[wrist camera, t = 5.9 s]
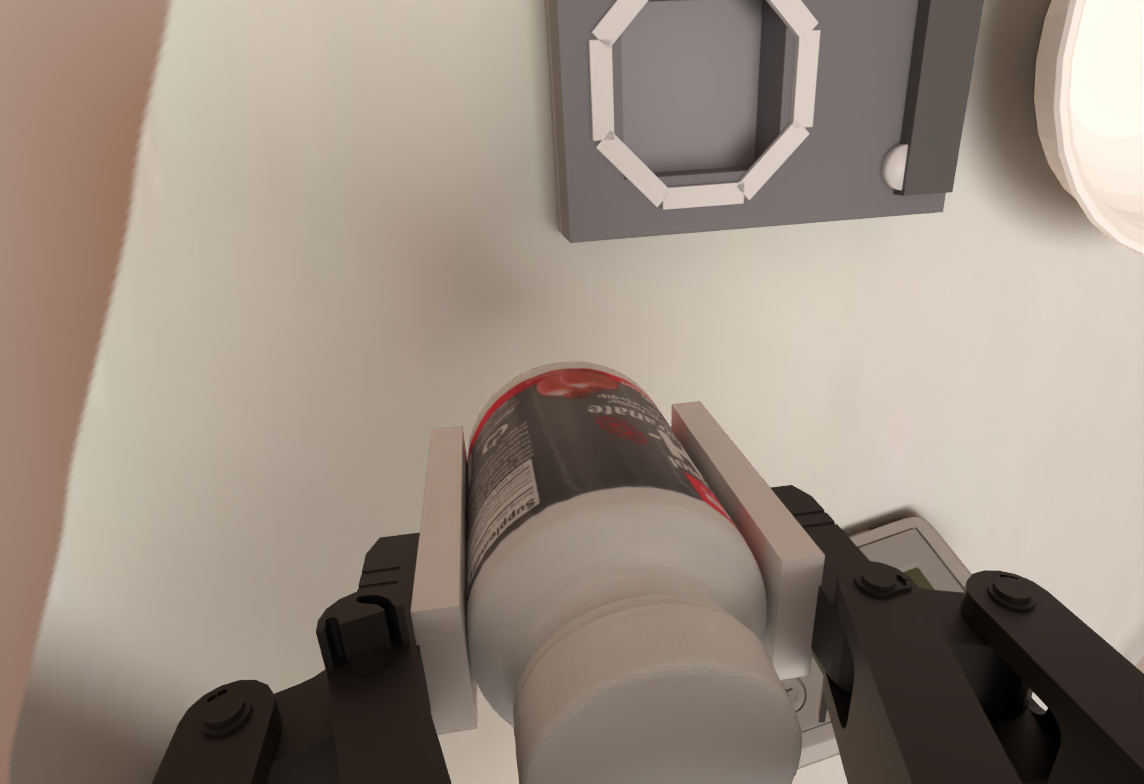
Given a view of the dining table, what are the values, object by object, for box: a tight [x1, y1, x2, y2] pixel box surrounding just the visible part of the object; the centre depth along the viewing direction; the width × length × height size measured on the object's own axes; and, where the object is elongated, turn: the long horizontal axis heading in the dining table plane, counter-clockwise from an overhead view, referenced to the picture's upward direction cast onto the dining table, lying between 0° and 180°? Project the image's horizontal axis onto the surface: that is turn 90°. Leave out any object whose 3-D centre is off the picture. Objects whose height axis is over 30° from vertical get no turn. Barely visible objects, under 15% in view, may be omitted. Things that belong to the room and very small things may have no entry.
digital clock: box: [780, 517, 972, 769], centre depth 38 cm, size 16×9×11 cm, turn 95°
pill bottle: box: [466, 362, 802, 784], centre depth 13 cm, size 5×5×10 cm
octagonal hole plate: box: [545, 0, 984, 243], centre depth 29 cm, size 18×12×4 cm, turn 93°
